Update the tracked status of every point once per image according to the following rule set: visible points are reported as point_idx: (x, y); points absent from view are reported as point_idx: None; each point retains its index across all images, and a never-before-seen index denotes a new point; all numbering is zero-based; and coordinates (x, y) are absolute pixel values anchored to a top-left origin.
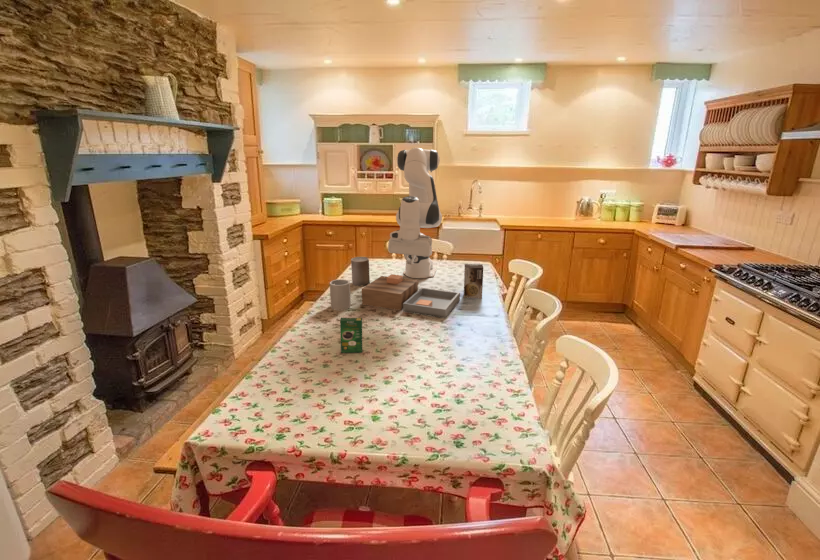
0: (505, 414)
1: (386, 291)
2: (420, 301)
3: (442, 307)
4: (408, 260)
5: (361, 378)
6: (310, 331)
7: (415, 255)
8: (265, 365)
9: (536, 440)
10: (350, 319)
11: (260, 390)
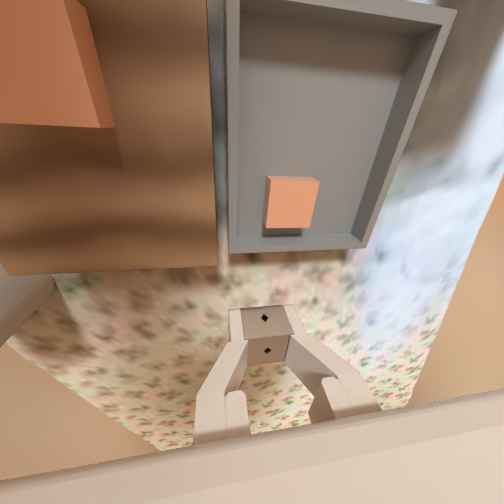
0: (394, 389)
1: (145, 263)
2: (277, 203)
3: (346, 177)
4: (255, 360)
5: (261, 408)
6: (103, 382)
7: (365, 403)
8: (143, 435)
9: (407, 397)
10: None
11: (181, 445)
